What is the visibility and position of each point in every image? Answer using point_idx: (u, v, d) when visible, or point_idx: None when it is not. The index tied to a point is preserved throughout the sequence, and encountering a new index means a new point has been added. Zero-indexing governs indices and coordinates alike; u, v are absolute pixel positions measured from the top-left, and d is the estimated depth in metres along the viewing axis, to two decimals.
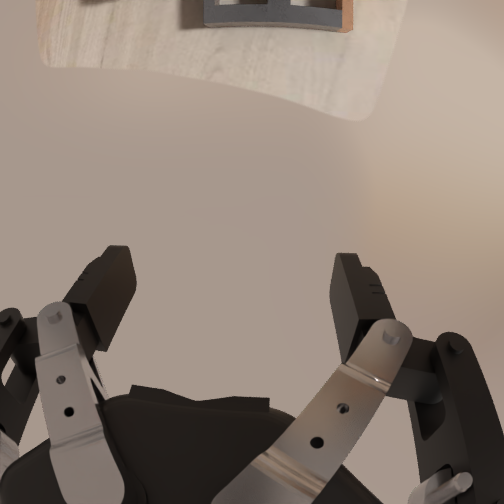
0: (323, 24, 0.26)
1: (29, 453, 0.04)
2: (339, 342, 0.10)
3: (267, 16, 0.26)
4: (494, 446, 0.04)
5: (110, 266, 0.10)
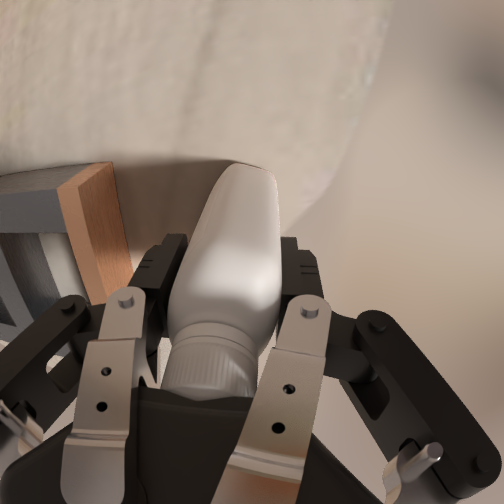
0: None
1: (29, 453, 0.04)
2: None
3: None
4: (451, 409, 0.05)
5: (175, 253, 0.11)
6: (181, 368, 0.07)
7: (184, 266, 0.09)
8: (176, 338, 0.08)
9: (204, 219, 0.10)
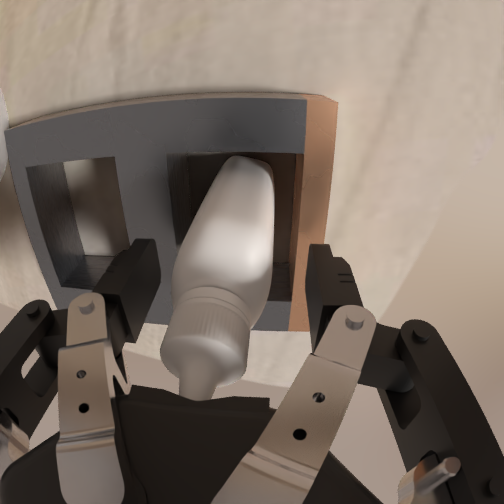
0: None
1: (30, 453, 0.04)
2: (310, 330, 0.11)
3: (147, 314, 0.17)
4: (476, 428, 0.05)
5: (140, 258, 0.11)
6: (180, 324, 0.08)
7: (185, 240, 0.10)
8: (177, 302, 0.09)
9: (204, 201, 0.11)
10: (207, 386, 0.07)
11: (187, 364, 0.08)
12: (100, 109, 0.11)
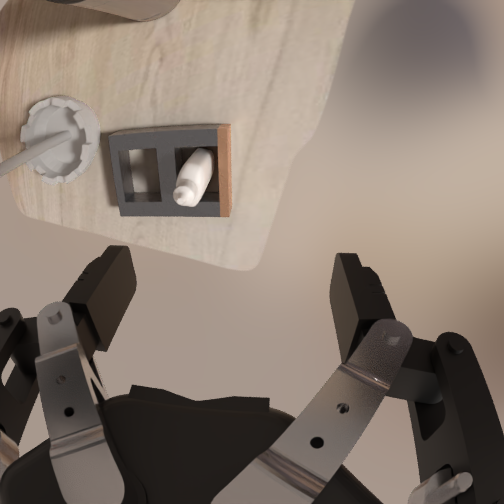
0: (205, 215, 0.43)
1: (29, 453, 0.04)
2: (339, 342, 0.10)
3: (163, 211, 0.43)
4: (494, 446, 0.04)
5: (110, 266, 0.10)
6: (178, 185, 0.34)
7: None
8: (178, 184, 0.35)
9: None
10: (184, 196, 0.33)
11: (179, 193, 0.33)
12: (151, 131, 0.37)
